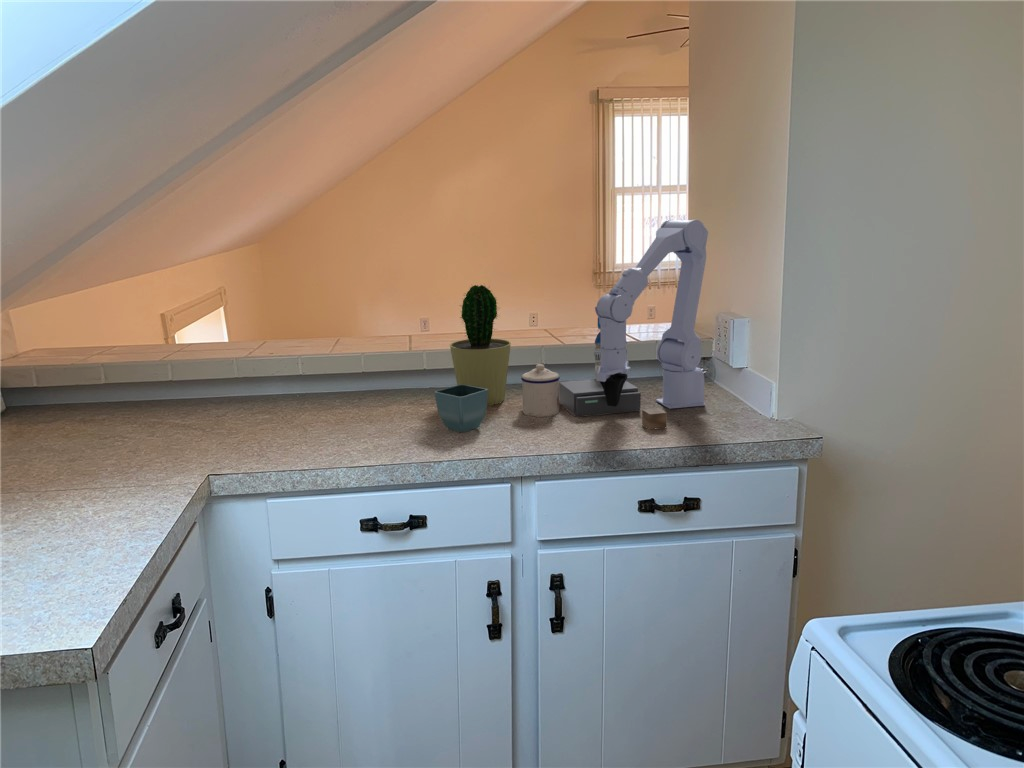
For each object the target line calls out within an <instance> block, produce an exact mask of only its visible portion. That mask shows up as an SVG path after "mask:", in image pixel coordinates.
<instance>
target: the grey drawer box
mask: <svg viewBox="0 0 1024 768" xmlns="http://www.w3.org/2000/svg"><path fill="white" fill-rule="evenodd" d="M632 392H639V387H637V386H636V385H634V384H632V383H630V382H629V381H627V380H626V381H625V383H624V385H623V388H622V391H621V393H632ZM596 394H605V393H604V390H603V387H602V385H601V383H600V381H596V379H595V378H594V379H593V378H592V379H583V380H582V379H581V380H580V379H578V380H569V381H567V380H566V381H559V404H560V403H561V404H562V405H561V404H560V405H561V406H562V407H564V409H568V410H567V411H568V412H570V413H571V414H572V415H573V416H574V415H575V417H577V416H576V397H578V396H584V395H596Z"/></svg>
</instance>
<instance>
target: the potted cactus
mask: <svg viewBox="0 0 1024 768" xmlns="http://www.w3.org/2000/svg"><path fill="white" fill-rule="evenodd" d="M490 286H491V285H488V287H486V285H485V284H480V285H479V284H477V285H476V284H475V285H474V284H473V285H471V286H470V287H469V289H468V291H466V293H465V292H463V293H464V294H463V296H464V298H461V299H462V304H460V305H459V307H461V316H460V317H458V318H459V319H461V321H460V322H461V323H464V325H462V326H463V327H465V333H464V337H467V338H465V339H461V340H456V341H453V342H451V343H449V347H450V353H451V360H452V365H453V369H454V374H455V380H456V386H457V385H461V384H463V385H469V386H474V387H479V388H485V389H488V397H487V407H488V405H489V406H494V404H495V405H498V403H499V404H501V403H503V402H504V401H505V396H506V389H507V382H508V381H507V379H508V372H509V371H508V370H509V363H510V354H511V344H512V342H511V341H509V340H505V339H503V338H502V339H499V338H494V337H493V331H496V330H497V331H498V328H496V329H494V323H495V321H494V320H498V317H499V318H500V319H501V316H500V314H498V311H499V309H501V307H499V306H497V304H498V305H499V302H497V300H498V299H497V298H496V296H495V295H494V293H493V292H492V290H491V289H490ZM465 334H466V335H465ZM503 400H504V401H503ZM502 401H503V402H502ZM500 402H501V403H500Z"/></svg>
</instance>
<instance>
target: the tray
mask: <svg viewBox="0 0 1024 768" xmlns="http://www.w3.org/2000/svg"><path fill="white" fill-rule="evenodd" d="M641 394H642V392H640V391H638V392H632V393H621V395H620V399H619V403H618V405H617V406H608V405H607V401H606V397H605V395H597V396H588V395H584V396H578V397H576V416H575V417H577V418H578V417H586V416H587V417H588V416H599V415H600V416H601V415H608V414H609V415H610V414H621V413H632V412H640V411H641V396H642V395H641Z"/></svg>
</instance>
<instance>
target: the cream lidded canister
mask: <svg viewBox="0 0 1024 768" xmlns="http://www.w3.org/2000/svg"><path fill="white" fill-rule="evenodd" d="M560 378H561V377H560V375H559V373H557V372H556V371H551V370H550V369H548V368H546V367H545V365H544V364H541V363H538V364H536V365H535V368H532V369H531V370H530V371H528V372H525V373H523V374H522V375H521V378H520V379H521V381H522V382H521V383H522V384H521V386H522V389H521V390H522V412H523V413H524V415H526V416H529V417H534V416H535V418H536V417H537V418H542V417H543V418H544V417H550V416H552V417H553V416H554V415H556V414H558V413H559V412H560V403H559V382H560V381H559V380H560Z"/></svg>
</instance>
